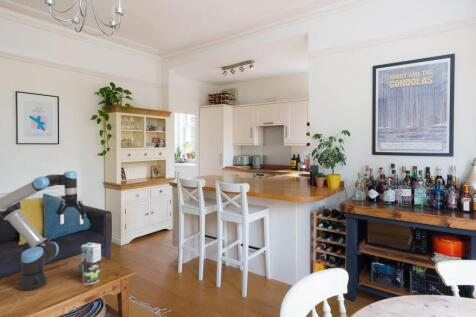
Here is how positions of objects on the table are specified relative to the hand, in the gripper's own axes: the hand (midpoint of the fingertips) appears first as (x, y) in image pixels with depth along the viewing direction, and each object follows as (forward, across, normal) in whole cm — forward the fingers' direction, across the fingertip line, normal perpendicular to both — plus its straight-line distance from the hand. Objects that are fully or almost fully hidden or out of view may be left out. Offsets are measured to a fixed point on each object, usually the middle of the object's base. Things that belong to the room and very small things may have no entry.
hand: (71, 223), depth 197 cm
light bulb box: (+23, +17, -8) cm, 30 cm away
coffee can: (+37, +17, -8) cm, 41 cm away
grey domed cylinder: (+37, +6, +1) cm, 37 cm away
